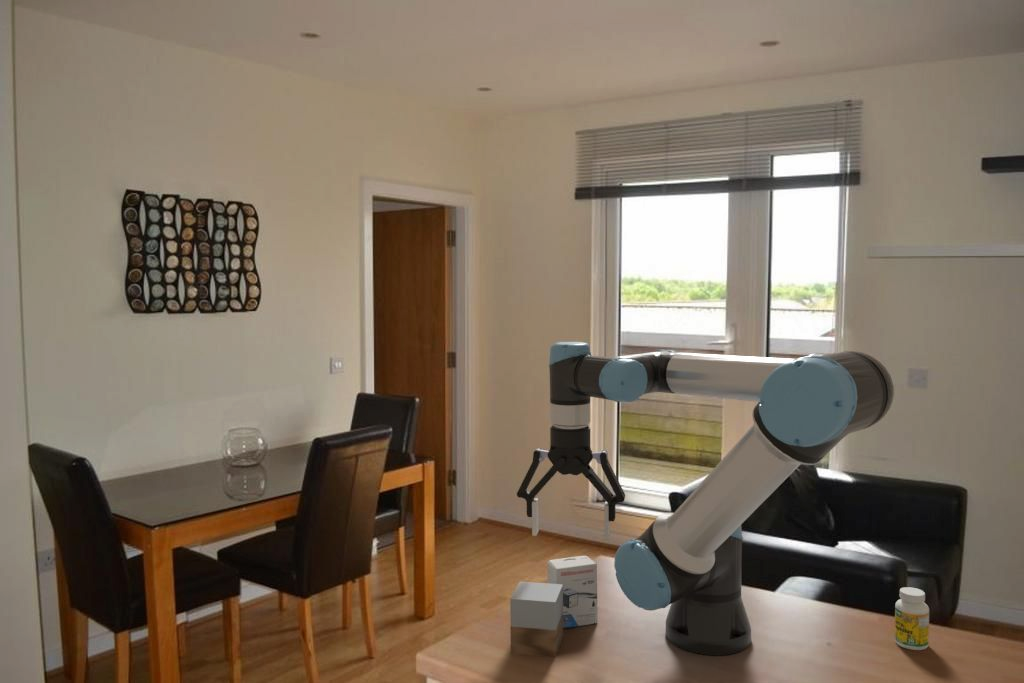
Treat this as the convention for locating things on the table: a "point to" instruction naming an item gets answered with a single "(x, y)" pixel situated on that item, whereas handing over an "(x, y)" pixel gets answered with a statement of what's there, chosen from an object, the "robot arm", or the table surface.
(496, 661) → the table surface
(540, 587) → the grey block
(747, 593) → the table surface
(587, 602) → the ink box
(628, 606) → the table surface
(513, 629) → the walnut block
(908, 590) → the supplement bottle
